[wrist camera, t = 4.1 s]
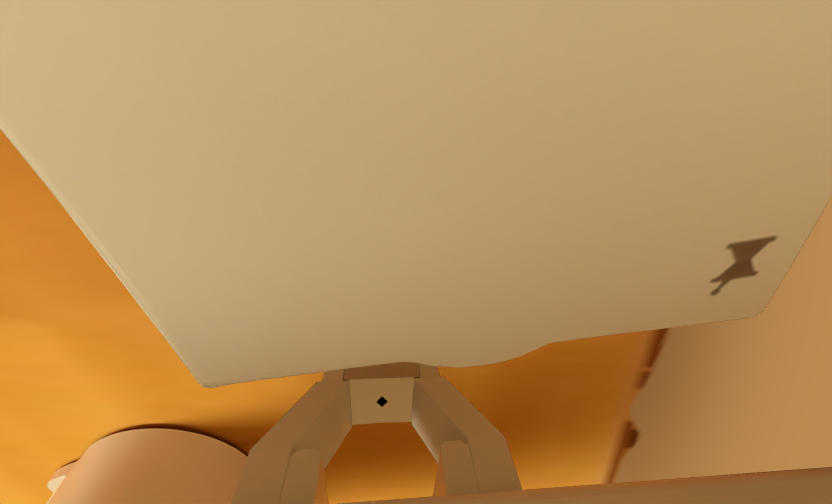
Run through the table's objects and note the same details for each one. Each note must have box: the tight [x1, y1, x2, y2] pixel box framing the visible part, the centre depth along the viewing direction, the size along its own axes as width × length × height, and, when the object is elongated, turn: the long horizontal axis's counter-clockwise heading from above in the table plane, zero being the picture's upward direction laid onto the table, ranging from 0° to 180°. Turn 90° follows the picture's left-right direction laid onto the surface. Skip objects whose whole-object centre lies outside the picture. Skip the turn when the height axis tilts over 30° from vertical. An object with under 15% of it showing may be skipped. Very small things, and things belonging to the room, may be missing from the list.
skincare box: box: [0, 0, 832, 388], centre depth 9 cm, size 8×7×16 cm
